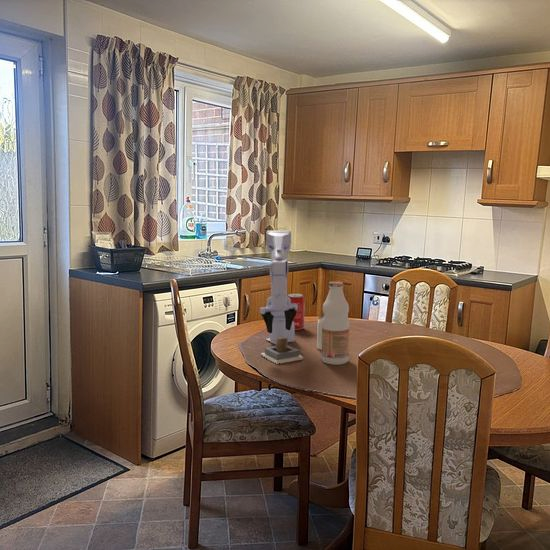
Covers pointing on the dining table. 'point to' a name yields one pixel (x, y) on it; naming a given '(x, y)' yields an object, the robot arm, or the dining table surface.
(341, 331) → the fruit juice
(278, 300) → the robot arm
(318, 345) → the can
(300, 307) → the soda can
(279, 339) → the peg
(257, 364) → the dining table surface
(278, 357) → the socket block
